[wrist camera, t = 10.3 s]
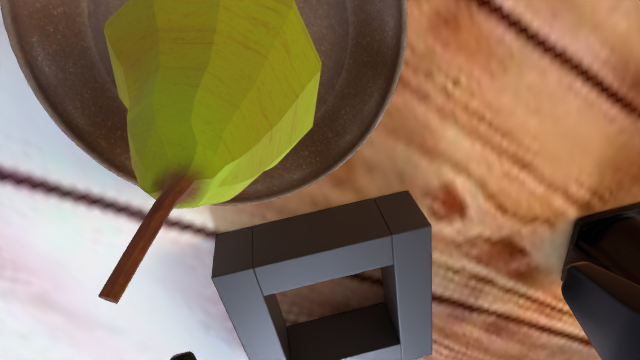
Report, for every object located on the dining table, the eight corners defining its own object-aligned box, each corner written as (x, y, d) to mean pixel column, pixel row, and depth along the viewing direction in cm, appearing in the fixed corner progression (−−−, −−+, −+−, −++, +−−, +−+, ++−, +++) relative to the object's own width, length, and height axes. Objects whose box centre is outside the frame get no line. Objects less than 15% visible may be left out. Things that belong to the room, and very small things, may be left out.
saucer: (363, -241, 13) (387, -282, 11) (403, 137, 21) (422, 160, 19) (-62, -134, 13) (-130, -153, 10) (143, 208, 21) (130, 240, 18)
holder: (408, 189, 23) (432, 225, 20) (414, 314, 29) (432, 355, 26) (215, 234, 22) (210, 278, 19) (264, 351, 29) (266, 397, 26)
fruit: (340, 48, 15) (524, 245, 5) (241, 153, 17) (231, 460, 7) (207, -92, 12) (4, -294, 2) (103, 53, 14) (-288, 332, 4)
